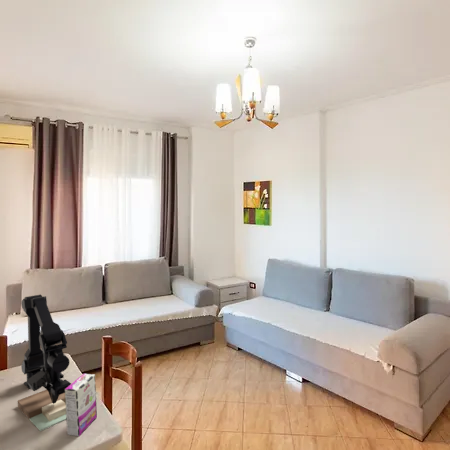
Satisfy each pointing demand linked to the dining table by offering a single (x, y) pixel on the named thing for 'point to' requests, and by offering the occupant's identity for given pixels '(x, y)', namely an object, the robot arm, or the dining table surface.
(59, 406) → the birch block
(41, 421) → the sage mat
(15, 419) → the dining table surface
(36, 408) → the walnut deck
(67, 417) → the candy bar box
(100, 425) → the dining table surface
